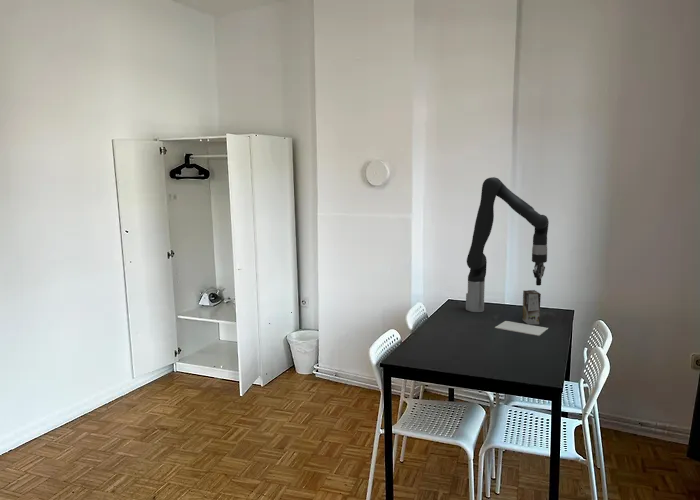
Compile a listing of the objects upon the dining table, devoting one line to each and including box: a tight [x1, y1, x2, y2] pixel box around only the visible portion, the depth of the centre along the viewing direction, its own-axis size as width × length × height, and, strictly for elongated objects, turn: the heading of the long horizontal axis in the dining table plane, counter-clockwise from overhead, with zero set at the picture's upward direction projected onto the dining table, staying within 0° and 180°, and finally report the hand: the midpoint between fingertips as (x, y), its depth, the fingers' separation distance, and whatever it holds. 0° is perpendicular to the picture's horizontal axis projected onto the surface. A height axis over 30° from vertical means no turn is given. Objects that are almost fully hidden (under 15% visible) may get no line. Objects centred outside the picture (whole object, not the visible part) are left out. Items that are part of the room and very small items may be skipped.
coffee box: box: [521, 289, 542, 326], centre depth 272 cm, size 9×6×16 cm
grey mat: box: [494, 320, 549, 337], centre depth 262 cm, size 22×14×1 cm, turn 52°
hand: (538, 285), depth 278 cm, fingers closed
